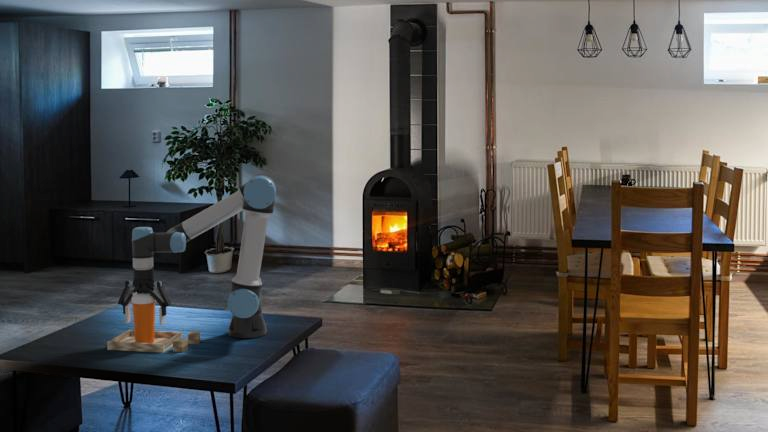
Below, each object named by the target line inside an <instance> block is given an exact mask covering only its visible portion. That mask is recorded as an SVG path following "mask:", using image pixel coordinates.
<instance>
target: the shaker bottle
mask: <svg viewBox="0 0 768 432" xmlns="http://www.w3.org/2000/svg"><path fill="white" fill-rule="evenodd" d="M141 292H147V293H139V292H138V291H136V292H135V293H133V296H132V298H131V301H130V302H131V305H132V307H131V308H132V318H133V320H132V321H133V330H134V333H135V342H136V343H153V342H154V339H155V331H156V330H155V329H156V328H155V327H156V321H155V320H156V302H157V301H156V300H155V299H154V298H153V296H152V295H151V294H149V292H148V291H141Z"/></svg>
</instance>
